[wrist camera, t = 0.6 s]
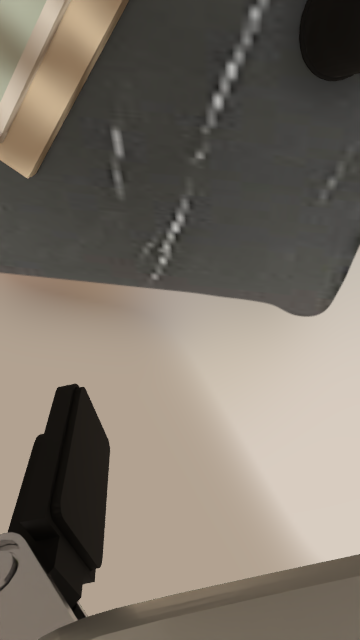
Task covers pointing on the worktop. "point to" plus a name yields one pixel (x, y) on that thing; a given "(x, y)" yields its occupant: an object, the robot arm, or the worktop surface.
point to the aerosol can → (331, 38)
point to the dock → (46, 69)
